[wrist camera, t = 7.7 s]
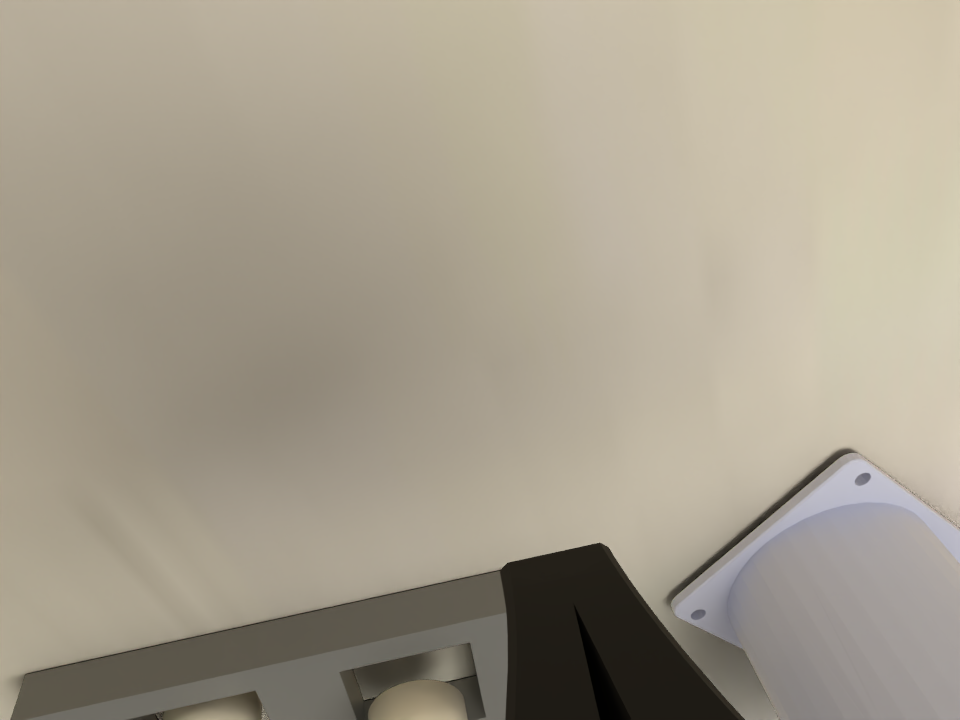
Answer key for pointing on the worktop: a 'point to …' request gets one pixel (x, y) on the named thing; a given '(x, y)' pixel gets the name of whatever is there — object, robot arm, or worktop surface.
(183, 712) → the button
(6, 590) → the worktop surface
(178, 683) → the button board
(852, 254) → the worktop surface
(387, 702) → the button
